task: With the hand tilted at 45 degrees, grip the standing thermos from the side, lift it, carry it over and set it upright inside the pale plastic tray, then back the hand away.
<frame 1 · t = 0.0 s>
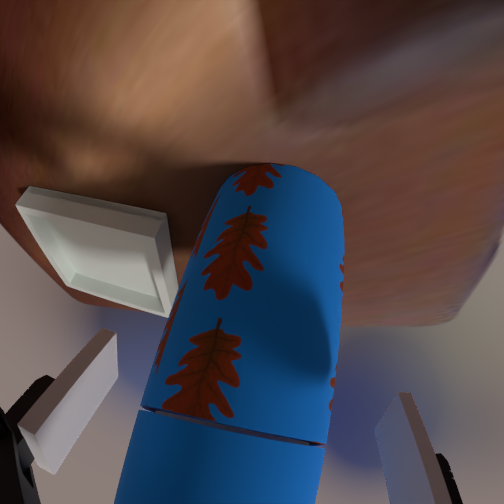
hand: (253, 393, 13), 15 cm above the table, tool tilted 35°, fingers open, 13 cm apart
tray: (107, 248, 36), on the table
thermos: (279, 212, 26), on the table
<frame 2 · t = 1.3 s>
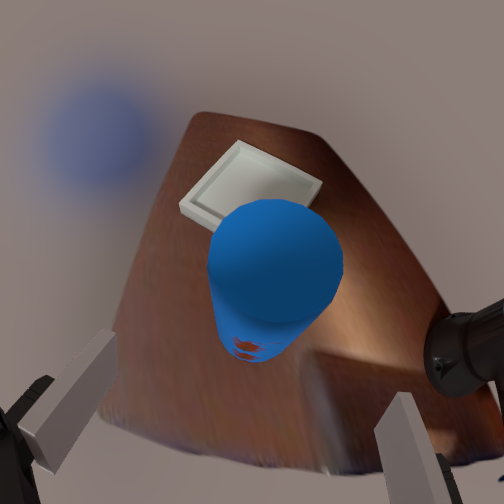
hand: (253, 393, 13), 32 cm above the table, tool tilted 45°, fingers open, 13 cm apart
tray: (252, 201, 57), on the table
thermos: (254, 328, 47), on the table
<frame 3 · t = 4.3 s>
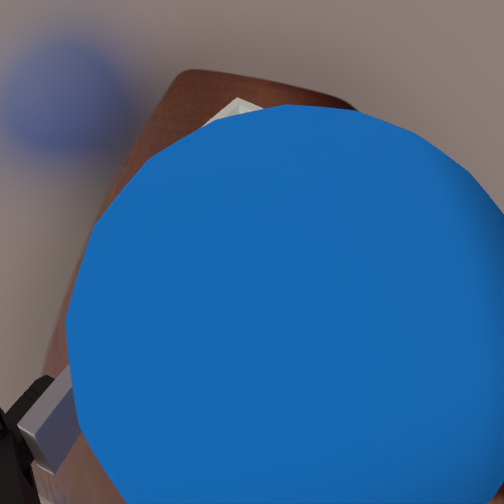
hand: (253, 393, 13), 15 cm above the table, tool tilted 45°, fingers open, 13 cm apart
tray: (256, 181, 37), on the table
thermos: (255, 382, 28), on the table, touching gripper
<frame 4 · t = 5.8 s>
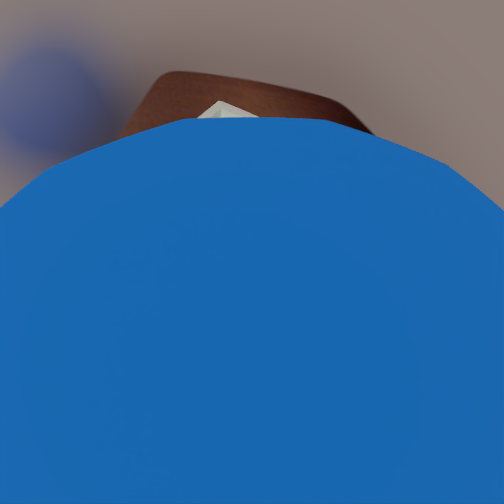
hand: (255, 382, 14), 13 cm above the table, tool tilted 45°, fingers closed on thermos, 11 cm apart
tray: (238, 193, 34), on the table
thermos: (235, 420, 24), on the table, touching gripper
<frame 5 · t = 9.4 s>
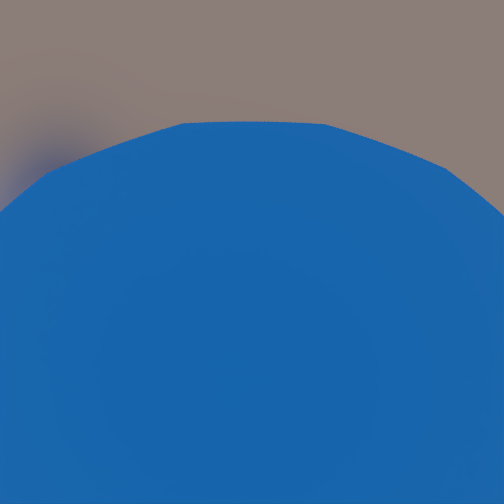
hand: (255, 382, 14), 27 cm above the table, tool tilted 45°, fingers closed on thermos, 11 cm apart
thermos: (235, 421, 24), point 14 cm above the table, touching gripper
when the fingers open (15 cm above the table, at t = 13.3 s): thermos stays where it is, resting on tray.
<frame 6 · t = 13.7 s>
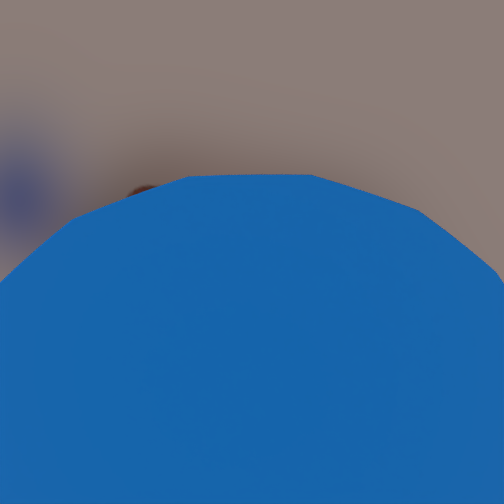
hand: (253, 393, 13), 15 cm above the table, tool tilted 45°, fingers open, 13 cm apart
thermos: (235, 421, 25), point 1 cm above the table, touching tray
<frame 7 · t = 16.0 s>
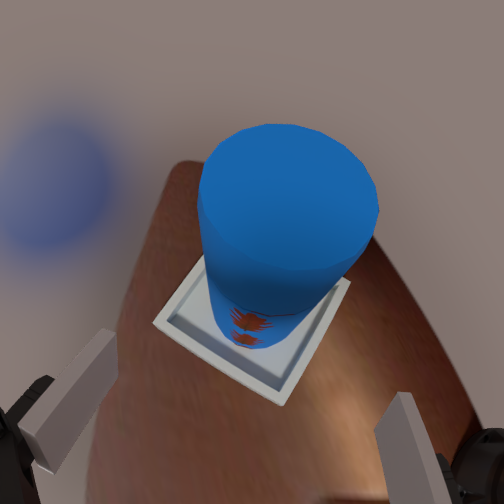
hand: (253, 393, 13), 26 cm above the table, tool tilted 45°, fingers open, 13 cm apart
tray: (254, 310, 41), on the table
thermos: (255, 309, 40), point 1 cm above the table, touching tray
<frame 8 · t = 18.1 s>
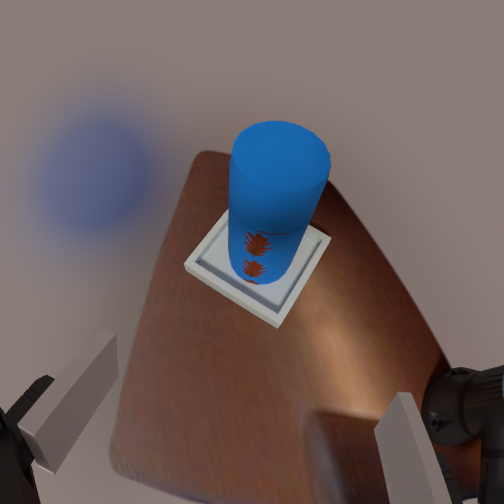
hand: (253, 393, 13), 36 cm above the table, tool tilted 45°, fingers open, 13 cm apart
tray: (259, 257, 56), on the table
thermos: (259, 256, 55), point 1 cm above the table, touching tray
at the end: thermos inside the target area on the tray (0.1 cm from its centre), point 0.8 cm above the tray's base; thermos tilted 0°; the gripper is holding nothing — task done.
